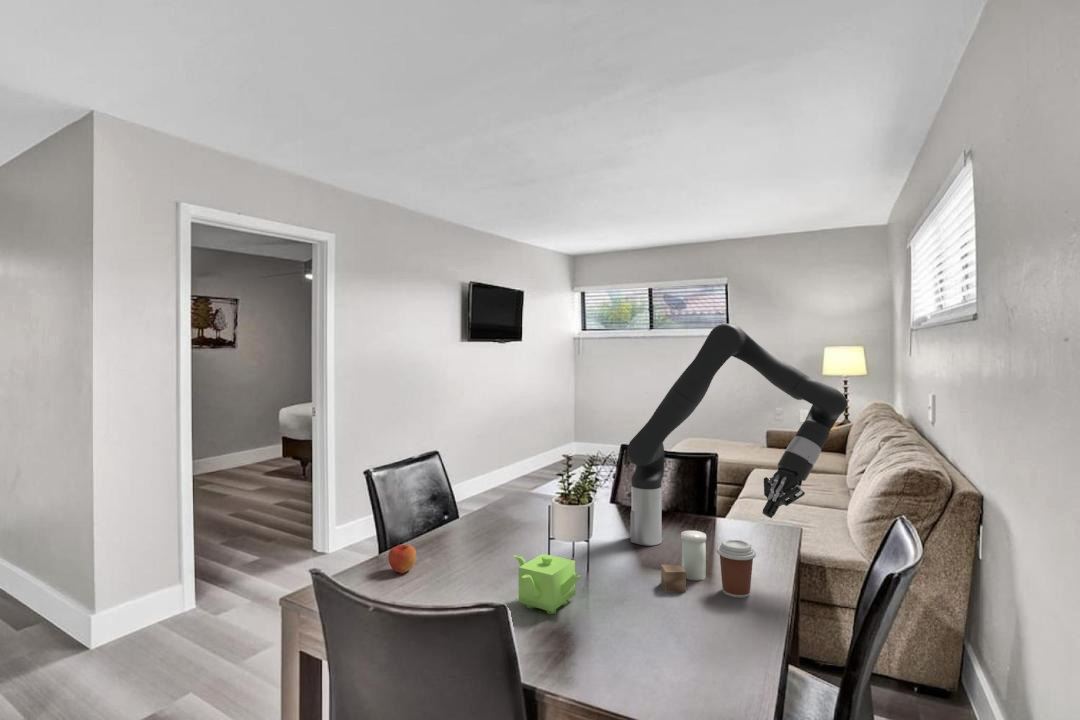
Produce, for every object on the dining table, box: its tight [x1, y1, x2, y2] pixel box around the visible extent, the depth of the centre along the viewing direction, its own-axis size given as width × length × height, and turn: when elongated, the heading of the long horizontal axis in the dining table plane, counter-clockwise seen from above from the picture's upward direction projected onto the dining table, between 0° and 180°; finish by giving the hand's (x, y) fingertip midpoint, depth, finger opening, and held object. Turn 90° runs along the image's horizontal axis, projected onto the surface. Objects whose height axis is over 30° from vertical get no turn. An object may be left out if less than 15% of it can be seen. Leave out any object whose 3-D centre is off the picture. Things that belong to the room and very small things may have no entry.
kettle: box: [513, 553, 581, 615], centre depth 133 cm, size 15×14×11 cm
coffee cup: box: [716, 538, 757, 599], centre depth 139 cm, size 9×9×12 cm
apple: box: [388, 543, 417, 575], centre depth 153 cm, size 7×7×8 cm
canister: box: [680, 530, 707, 581], centre depth 150 cm, size 6×6×11 cm
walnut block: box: [660, 563, 687, 593], centre depth 142 cm, size 5×5×5 cm
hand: (766, 515), depth 144 cm, fingers closed
